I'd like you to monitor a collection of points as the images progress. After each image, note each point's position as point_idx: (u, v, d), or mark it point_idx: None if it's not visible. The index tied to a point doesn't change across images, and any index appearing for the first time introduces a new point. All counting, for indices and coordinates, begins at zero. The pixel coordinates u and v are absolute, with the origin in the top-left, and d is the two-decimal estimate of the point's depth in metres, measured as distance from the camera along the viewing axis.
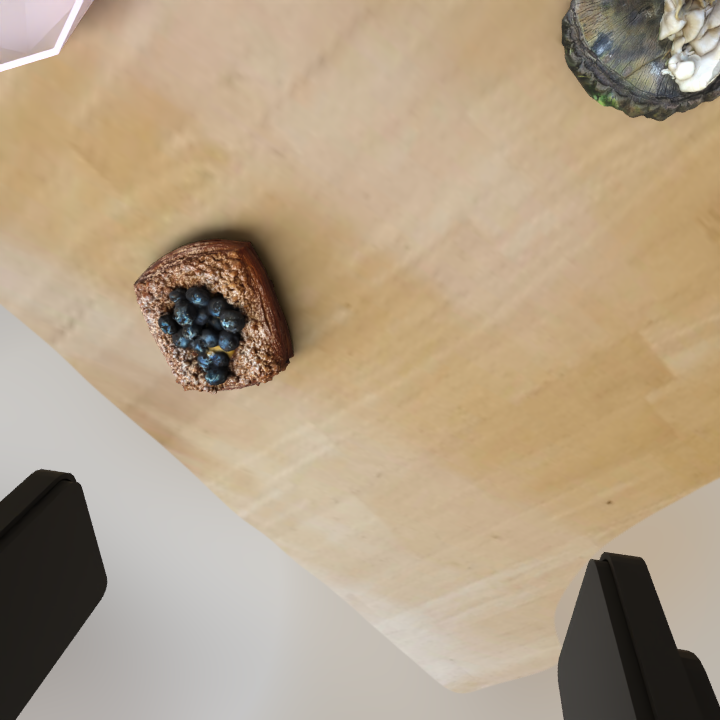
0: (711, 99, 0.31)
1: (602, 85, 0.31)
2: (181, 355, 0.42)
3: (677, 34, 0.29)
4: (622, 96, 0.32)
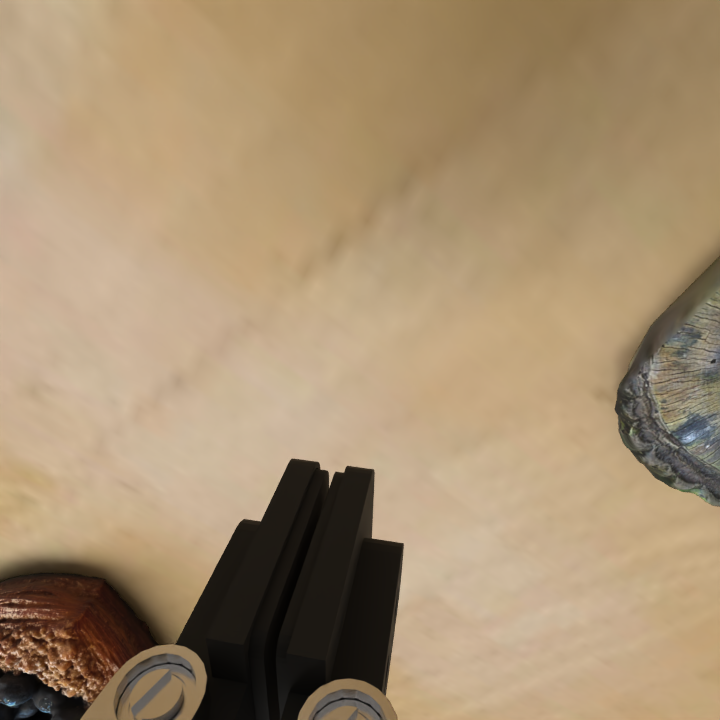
0: None
1: (685, 483, 0.17)
2: None
3: None
4: None
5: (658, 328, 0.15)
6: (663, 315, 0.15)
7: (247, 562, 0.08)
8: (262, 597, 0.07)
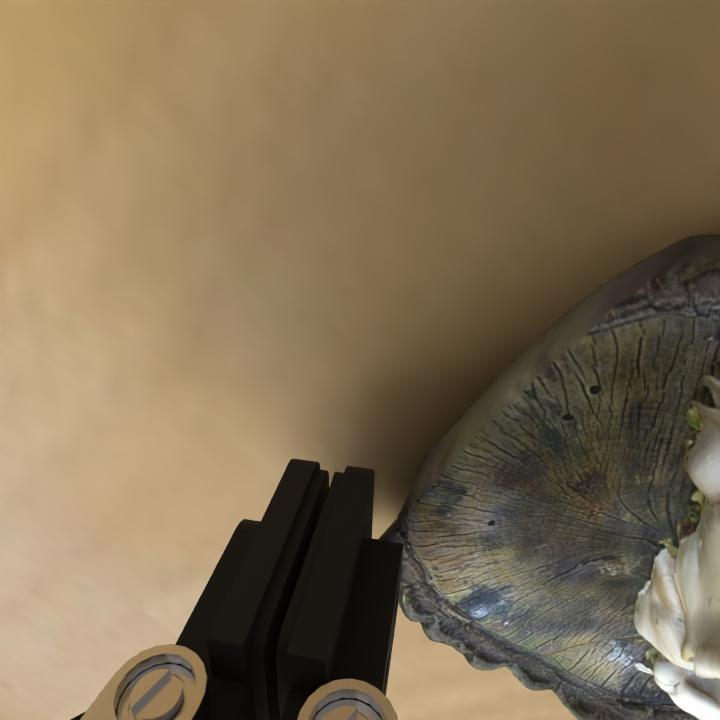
0: None
1: (487, 662, 0.12)
2: None
3: None
4: (536, 681, 0.13)
5: (425, 467, 0.11)
6: (436, 447, 0.11)
7: (247, 562, 0.08)
8: (262, 597, 0.07)
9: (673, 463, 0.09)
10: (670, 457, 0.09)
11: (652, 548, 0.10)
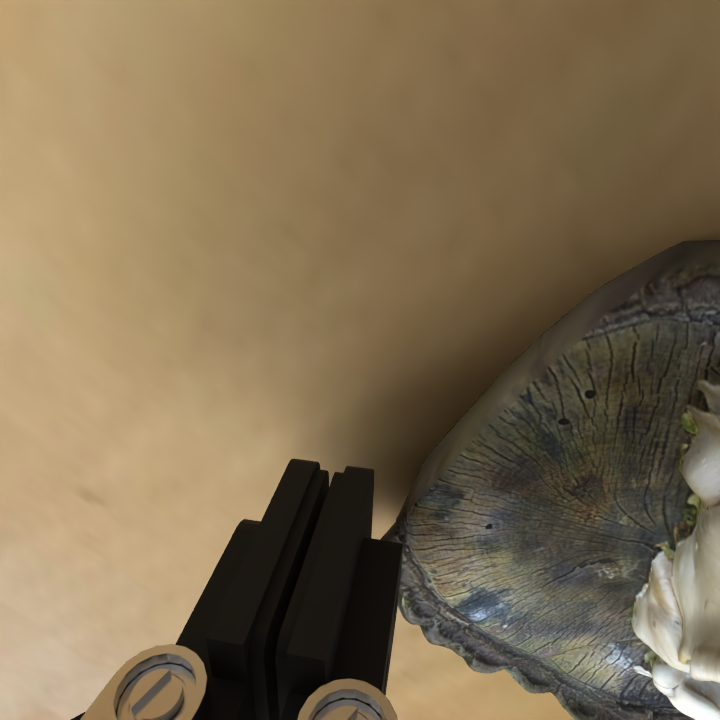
0: None
1: (486, 665, 0.12)
2: None
3: None
4: (536, 684, 0.13)
5: (423, 471, 0.11)
6: (434, 451, 0.11)
7: (247, 562, 0.08)
8: (262, 597, 0.07)
9: (669, 467, 0.09)
10: (666, 461, 0.09)
11: (649, 551, 0.10)
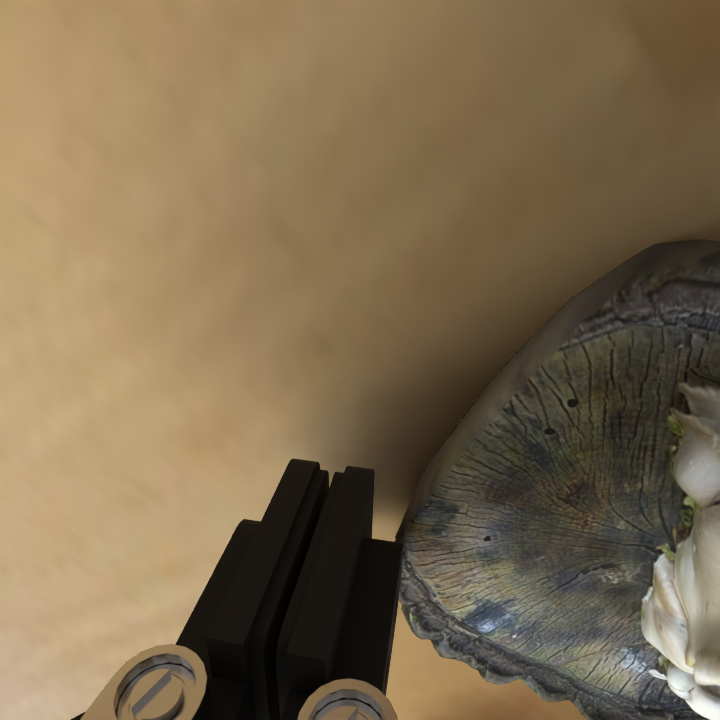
0: None
1: (500, 676, 0.12)
2: None
3: None
4: (552, 692, 0.13)
5: (419, 487, 0.11)
6: (429, 466, 0.11)
7: (247, 562, 0.08)
8: (262, 597, 0.07)
9: (660, 469, 0.09)
10: (656, 464, 0.09)
11: (650, 554, 0.10)
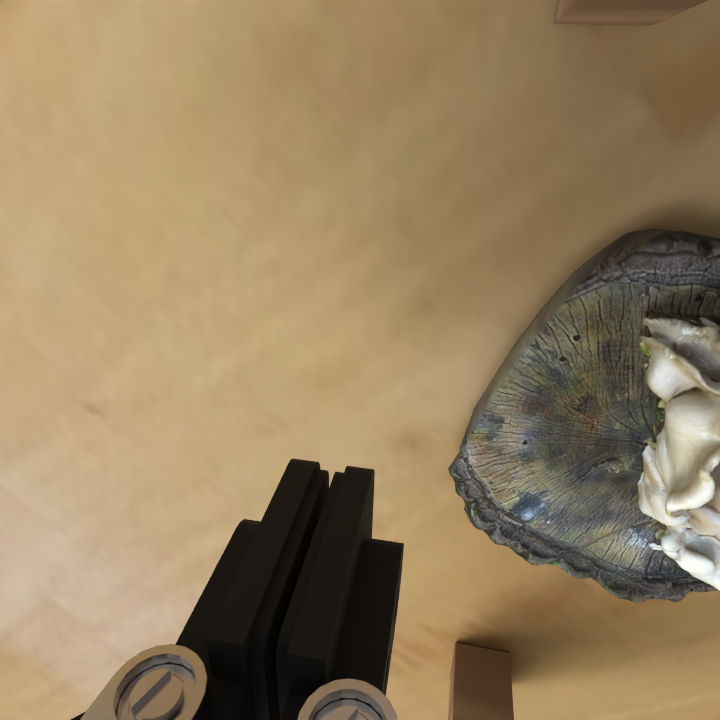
0: None
1: (539, 558, 0.17)
2: None
3: None
4: (580, 571, 0.17)
5: (474, 412, 0.15)
6: (481, 398, 0.16)
7: (247, 562, 0.08)
8: (262, 597, 0.07)
9: (639, 382, 0.14)
10: (636, 378, 0.14)
11: (639, 447, 0.15)
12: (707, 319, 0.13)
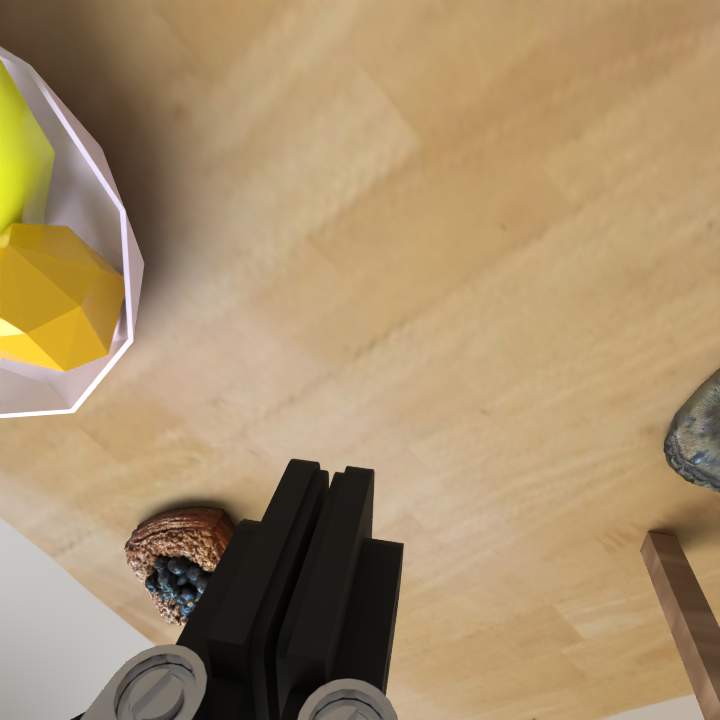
0: None
1: (699, 481, 0.37)
2: (165, 602, 0.49)
3: None
4: (716, 487, 0.37)
5: (678, 416, 0.36)
6: (679, 410, 0.36)
7: (247, 562, 0.08)
8: (261, 597, 0.07)
9: None
10: None
11: None
12: None
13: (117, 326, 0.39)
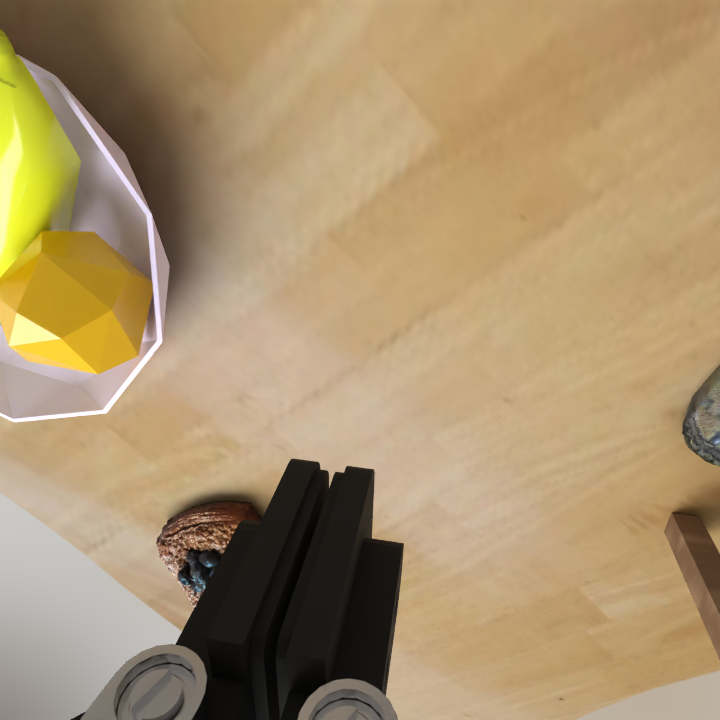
0: None
1: (719, 461, 0.38)
2: (197, 594, 0.50)
3: None
4: None
5: (696, 398, 0.36)
6: (697, 392, 0.37)
7: (247, 562, 0.08)
8: (262, 597, 0.07)
9: None
10: None
11: None
12: None
13: (144, 327, 0.39)
